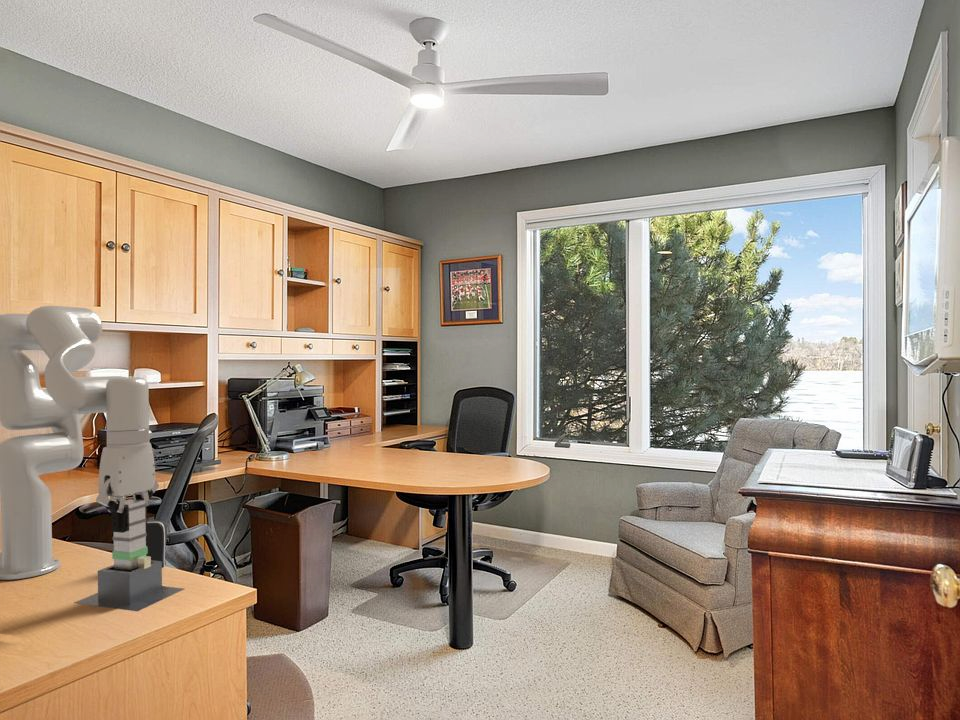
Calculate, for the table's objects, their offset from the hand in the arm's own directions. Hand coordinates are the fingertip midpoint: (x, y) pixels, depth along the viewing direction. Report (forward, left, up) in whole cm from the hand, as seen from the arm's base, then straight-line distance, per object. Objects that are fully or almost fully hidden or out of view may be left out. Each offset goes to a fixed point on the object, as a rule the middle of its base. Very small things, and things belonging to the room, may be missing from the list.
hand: (129, 527), depth 126 cm
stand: (0, 0, -15) cm, 15 cm away
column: (0, 0, -8) cm, 8 cm away
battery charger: (-11, +16, -15) cm, 25 cm away
